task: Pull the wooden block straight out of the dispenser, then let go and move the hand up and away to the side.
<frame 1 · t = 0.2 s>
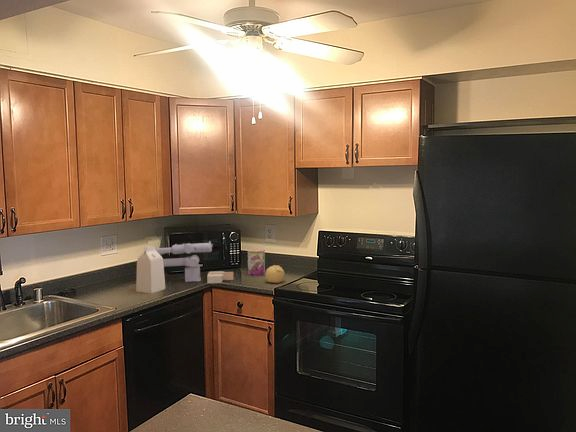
hand: (224, 246, 299), 21 cm above the countertop, tool horizontal, fingers open, 7 cm apart
milk: (151, 290, 275), on the countertop
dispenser: (215, 280, 297), on the countertop
candy bar box: (256, 274, 315), on the countertop
beige round lump: (275, 282, 292), on the countertop
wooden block: (222, 276, 297), point 3 cm above the countertop, slide at 0.0 cm
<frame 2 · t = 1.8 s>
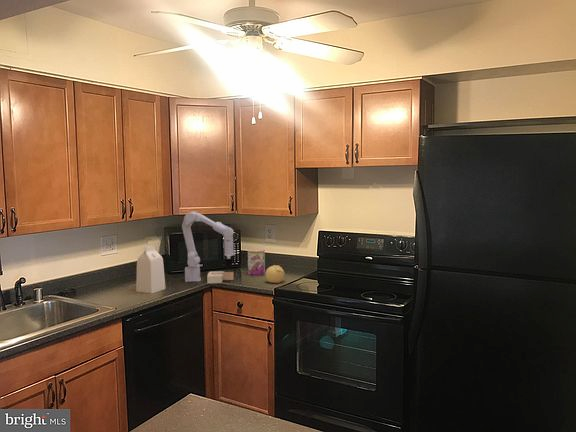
hand: (229, 267, 297), 8 cm above the countertop, tool pointing down, fingers open, 7 cm apart
nothing on the countertop moved.
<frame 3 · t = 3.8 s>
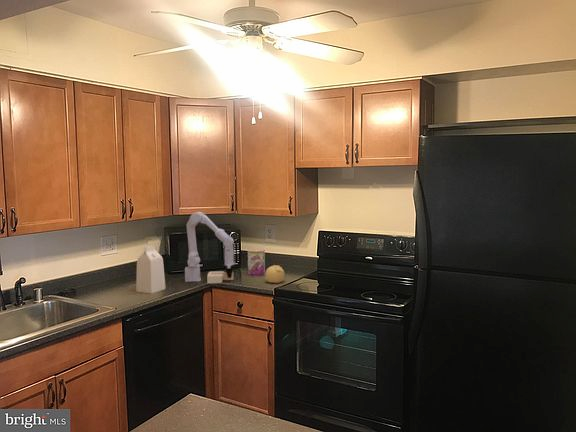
hand: (229, 277, 298), 2 cm above the countertop, tool pointing down, fingers closed, pressing on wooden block
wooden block: (222, 276, 297), point 3 cm above the countertop, slide at 0.0 cm, touching gripper
everything else where it was.
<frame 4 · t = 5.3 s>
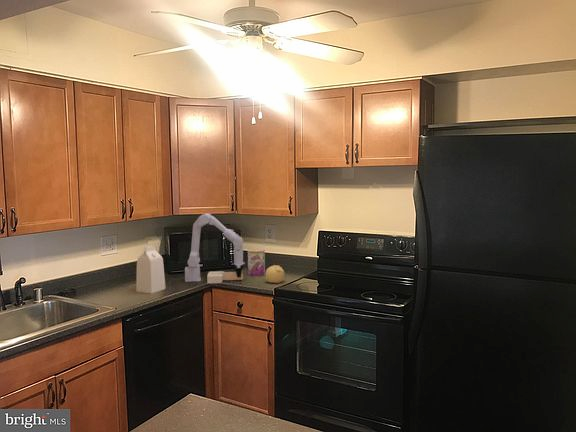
hand: (239, 277, 298), 2 cm above the countertop, tool pointing down, fingers closed, pressing on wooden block
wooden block: (231, 275, 298), point 3 cm above the countertop, slide at 6.0 cm, touching gripper
everything else where it was.
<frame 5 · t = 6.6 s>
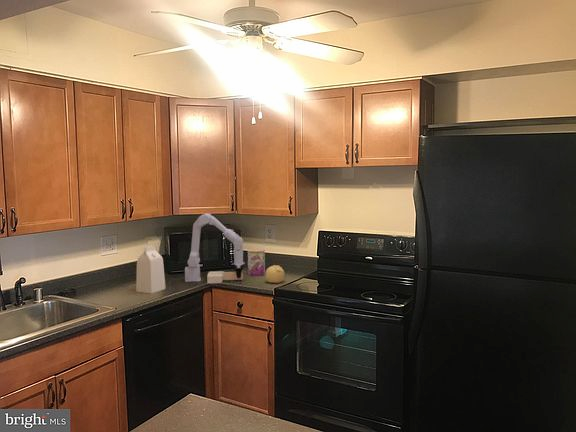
hand: (239, 277, 298), 2 cm above the countertop, tool pointing down, fingers open, 6 cm apart
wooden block: (231, 275, 298), point 3 cm above the countertop, slide at 6.0 cm
everything else where it was.
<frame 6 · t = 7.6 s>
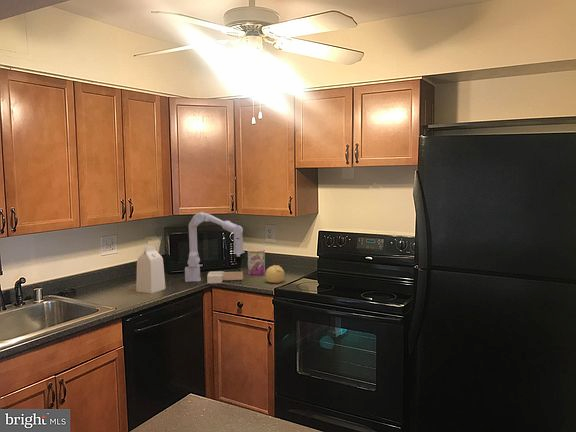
hand: (238, 265, 298), 9 cm above the countertop, tool pointing down, fingers open, 7 cm apart
nothing on the countertop moved.
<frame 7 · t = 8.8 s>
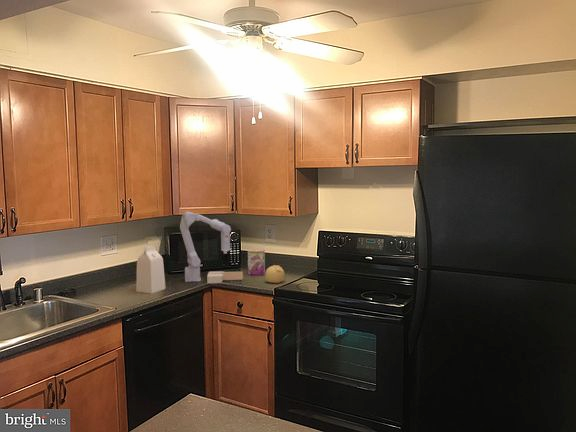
hand: (226, 262, 308), 9 cm above the countertop, tool pointing down, fingers open, 7 cm apart
nothing on the countertop moved.
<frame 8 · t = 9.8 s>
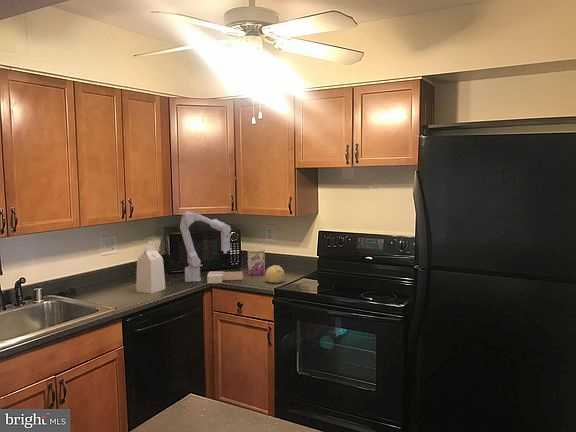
hand: (226, 262, 308), 9 cm above the countertop, tool pointing down, fingers open, 7 cm apart
nothing on the countertop moved.
at the end: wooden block slide at 6.0 cm; the gripper is holding nothing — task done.
